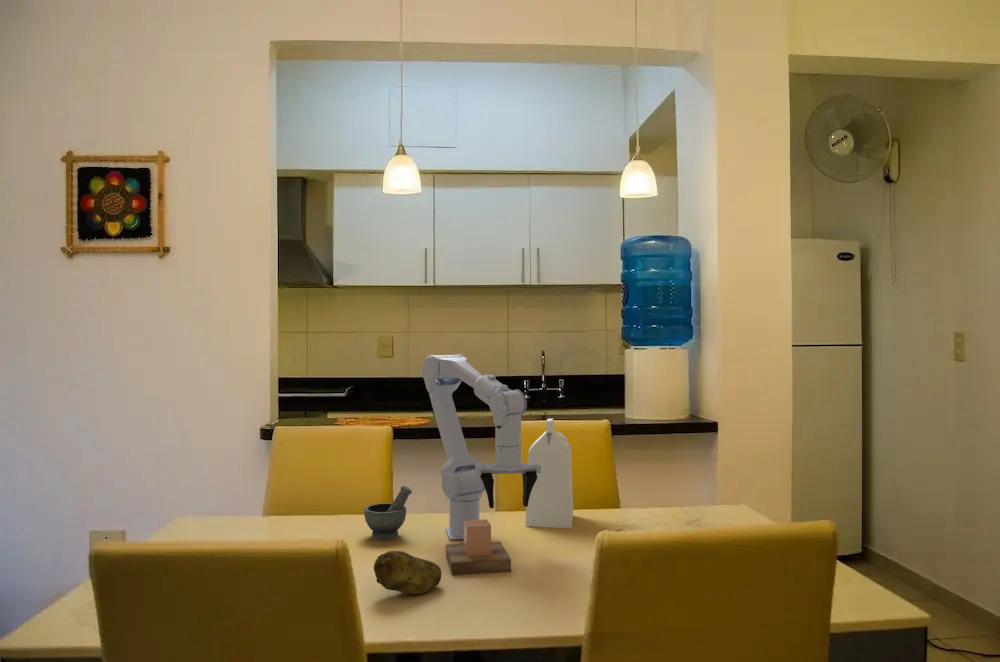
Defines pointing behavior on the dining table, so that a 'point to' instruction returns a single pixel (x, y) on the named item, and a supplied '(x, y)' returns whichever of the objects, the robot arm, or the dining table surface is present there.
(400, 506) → the mortar and pestle
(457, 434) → the robot arm
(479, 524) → the terracotta block
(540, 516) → the milk
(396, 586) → the potato
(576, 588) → the dining table surface
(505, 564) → the walnut base slab
